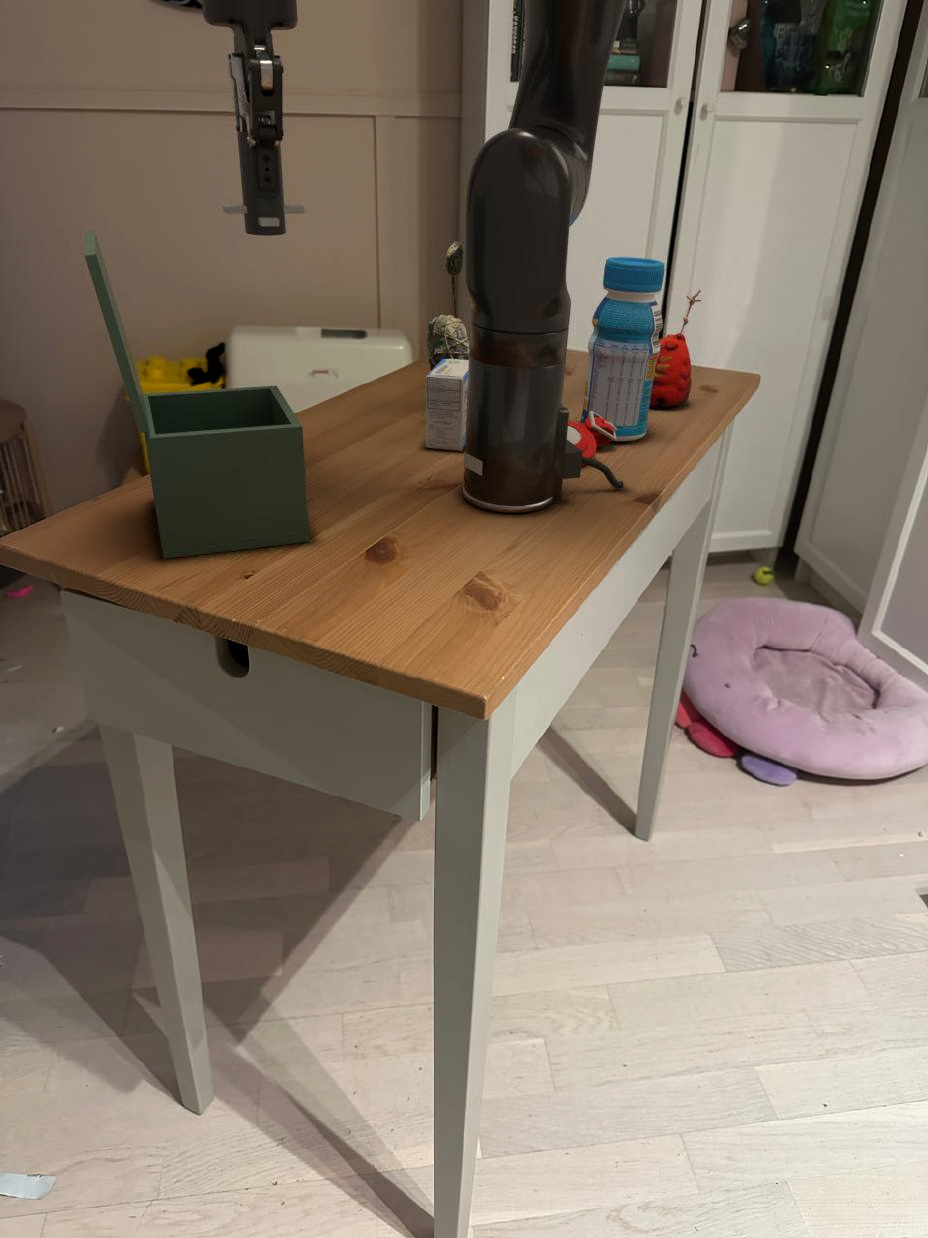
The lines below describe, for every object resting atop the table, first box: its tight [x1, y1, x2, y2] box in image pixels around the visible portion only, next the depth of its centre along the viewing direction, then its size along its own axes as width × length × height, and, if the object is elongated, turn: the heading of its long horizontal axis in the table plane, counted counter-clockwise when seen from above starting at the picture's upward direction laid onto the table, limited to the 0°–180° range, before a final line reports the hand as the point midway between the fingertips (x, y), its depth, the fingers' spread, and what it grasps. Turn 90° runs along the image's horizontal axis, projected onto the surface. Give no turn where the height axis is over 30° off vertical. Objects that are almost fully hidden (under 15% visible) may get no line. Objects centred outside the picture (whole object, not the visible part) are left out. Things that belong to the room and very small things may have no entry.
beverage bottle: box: [580, 256, 666, 442], centre depth 105 cm, size 8×8×20 cm
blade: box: [222, 131, 306, 237], centre depth 78 cm, size 7×6×8 cm
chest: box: [143, 385, 310, 560], centre depth 80 cm, size 13×13×11 cm
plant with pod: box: [426, 241, 470, 372], centre depth 112 cm, size 8×11×20 cm
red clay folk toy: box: [649, 289, 702, 409], centre depth 118 cm, size 8×7×15 cm
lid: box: [84, 230, 149, 434], centre depth 72 cm, size 13×13×1 cm
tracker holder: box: [567, 411, 617, 468], centre depth 103 cm, size 12×4×10 cm
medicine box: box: [425, 359, 469, 452], centre depth 103 cm, size 8×4×9 cm, turn 168°
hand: (263, 193), depth 79 cm, fingers closed on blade, 3 cm apart
